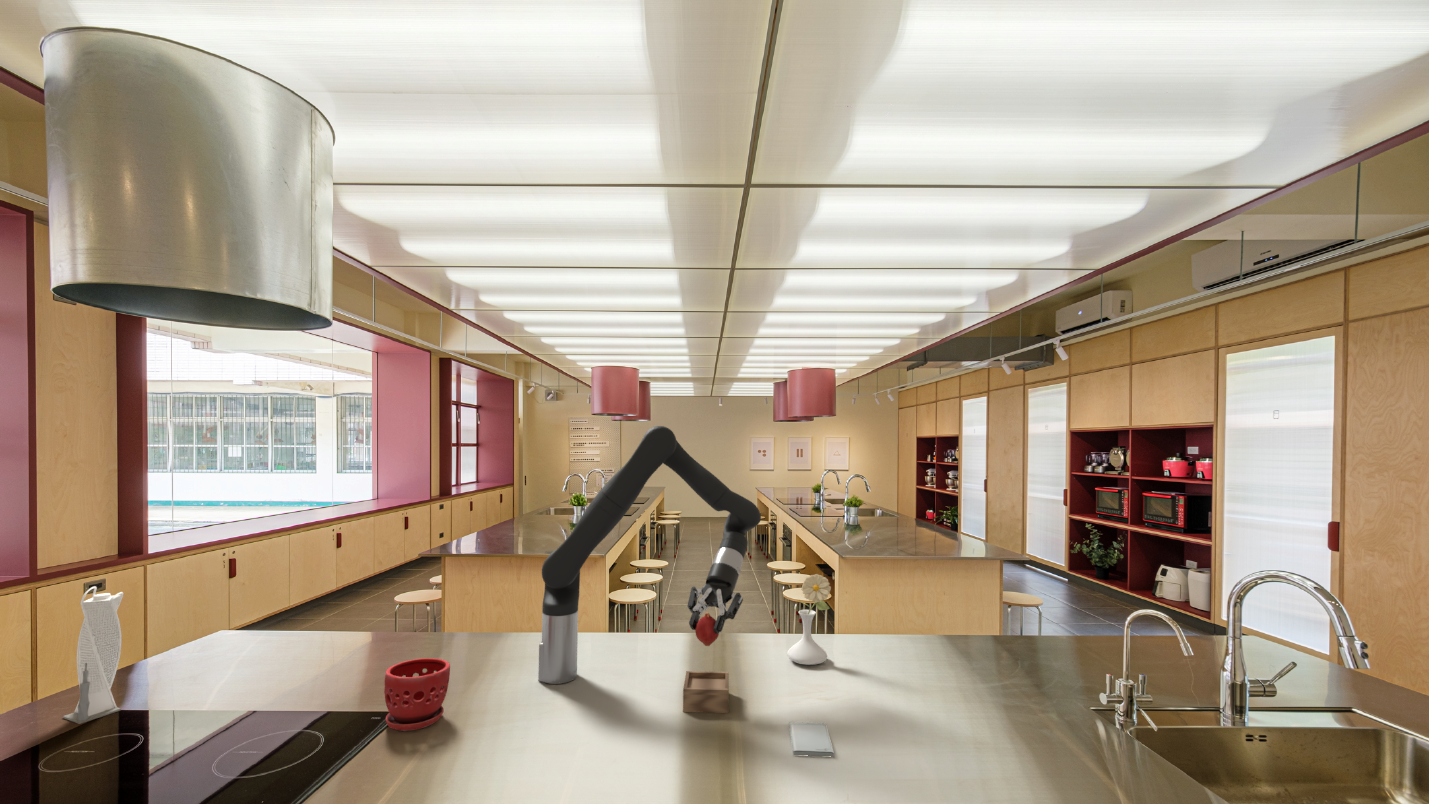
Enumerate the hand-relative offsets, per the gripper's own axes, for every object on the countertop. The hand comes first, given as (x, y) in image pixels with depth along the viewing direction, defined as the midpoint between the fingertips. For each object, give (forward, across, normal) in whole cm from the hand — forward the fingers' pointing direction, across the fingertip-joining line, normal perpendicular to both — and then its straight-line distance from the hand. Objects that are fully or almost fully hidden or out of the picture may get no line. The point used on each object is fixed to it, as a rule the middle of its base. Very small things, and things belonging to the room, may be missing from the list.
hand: (704, 630), depth 144 cm
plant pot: (+38, -53, -14) cm, 67 cm away
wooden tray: (+11, 0, +14) cm, 18 cm away
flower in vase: (-14, +14, +40) cm, 44 cm away
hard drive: (+16, +28, +10) cm, 34 cm away
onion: (+2, 0, +4) cm, 5 cm away
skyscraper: (+60, -122, -35) cm, 140 cm away
